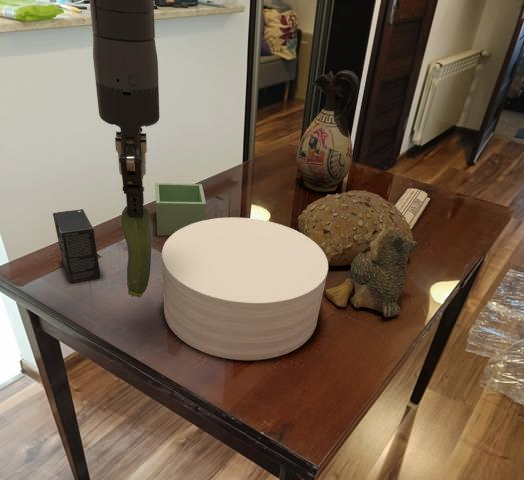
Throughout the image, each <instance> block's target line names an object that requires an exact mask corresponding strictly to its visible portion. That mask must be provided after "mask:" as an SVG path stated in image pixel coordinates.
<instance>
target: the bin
mask: <svg viewBox="0 0 524 480" xmlns="http://www.w3.org/2000/svg"><path fill="white" fill-rule="evenodd" d="M154 186H155V187H154V188H155V211H156V214H155V215H156V233H157V235H156V236H169V237H170V236H171V235H172V234H174V233H175V232H176V231H178V230H180V229H181V228H183V227H185V226H188V225H190V224H193V223H196V222H200V221H204V220H207V202H206V197H205V192H204V188H203V184H202V183H169V182H167V183H166V182H155V183H154Z"/></svg>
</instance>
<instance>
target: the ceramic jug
mask: <svg viewBox="0 0 524 480" xmlns="http://www.w3.org/2000/svg"><path fill="white" fill-rule="evenodd" d="M342 80H345V81H347V82H349V84H350V94H349V96H348V98H347V100H346V103H345V106H344V108H343V110H342V111H341V108H340V107H341V106H340V100H345V98H346V97H345V96H346V93H345V90H344V88H343V86H342V84H341V81H342ZM312 85H313V86H314V87H316V88H318V89H319V90H321V92H323V94H324V96H325V97H326V101H325V104H324V107H323V108H322V109H321V111H320V112H319V113H318V114H317V115H316V117H315V118H314V119H313V121H311V123H310V124H309V126H308V127H307V128H306V130H305V132H304V133H303V135H302V137H301V140H300V142H299V145H298V149H297V151H296V157H295V159H296V160H295V161H296V168H297V171H298V173H299V175H300V176H301V178H302V180H303V184H304V186H305V187H306V188H307V189H310V190H312V191H315V192H323V193H324V192H326V193H327V192H335V191H336V190H337V188H338V185H339V184H340V183H341V182H342V181H343V180H345V179H346V177H347V176H348V175H349V173H350V171H351V168H352V165H353V156H354V154H353V151H354V149H353V142H352V138H351V135H350V131H349V123H348V122H349V121H348V117H349V115H350V112H351V110H352V108H353V106H354V104H355V102H356V100H357V98H358V95H359V91H360V79H359V77H358V76H357V74H356V73H355V72H353V71H351V70H347V69H343V70H340V71H338V72H337V73H336V74H335V75H334V73H333V71H329V72H328V73H327V74H325V73H322V74H321V75H320V76H318V77H317V78H316V80H314V81H313V82H312Z"/></svg>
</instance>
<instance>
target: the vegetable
mask: <svg viewBox="0 0 524 480" xmlns="http://www.w3.org/2000/svg"><path fill="white" fill-rule="evenodd" d="M128 184H133V183H132V182H128ZM143 211H144V216H143V217H142V218H130V217H128V213H127V205H126V206H125V207H124V208H123V210H122V211H121V217H120V222H121V227H122V231H123V235H124V239H125V243H126V247H127V265H126V267H127V268H126V286H127V289H128V290H127V294H128V295H129V296H130V297H132V298H133V297H137V298H139V299H141V298H142V296H143V294H144V293H145V292H146V291H147V288H148V284H149V280H150V276H151V265H152V264H151V263H152V245H153V223H152V222H153V221H152V217H151V214H150V212H149V209H148V208H147V207H146V206H145V205H143Z"/></svg>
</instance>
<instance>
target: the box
mask: <svg viewBox="0 0 524 480" xmlns="http://www.w3.org/2000/svg"><path fill="white" fill-rule="evenodd" d="M52 216H53V222H54V226H55V232H56V236H57V242H58V246H59V251H60V255H61V256H60V257H61V261H62V264H63V266H64V269H65V271H66V274H67V276H68V279H69V281H70V282H71V283H76V282H83V281H88V280H94V279H98V278H101V270H100V265H99V258H98V250H97V243H96V237H95V228H94V226H93V225H92V223H91V221H90V220H89V218H88V216H87V214H86V212H85V210H84V209H83V208H81V209H73V210H64V211H57V212H53V213H52Z"/></svg>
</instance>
